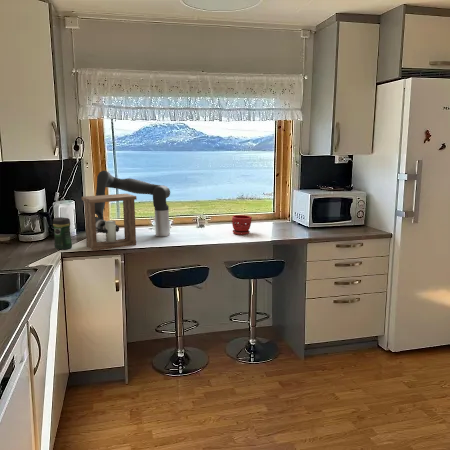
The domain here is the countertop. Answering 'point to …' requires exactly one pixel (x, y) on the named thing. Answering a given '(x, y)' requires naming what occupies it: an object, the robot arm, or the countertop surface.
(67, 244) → the coffee jar
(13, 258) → the countertop surface
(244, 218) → the plant pot
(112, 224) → the white cylinder
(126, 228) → the on counter shelf
